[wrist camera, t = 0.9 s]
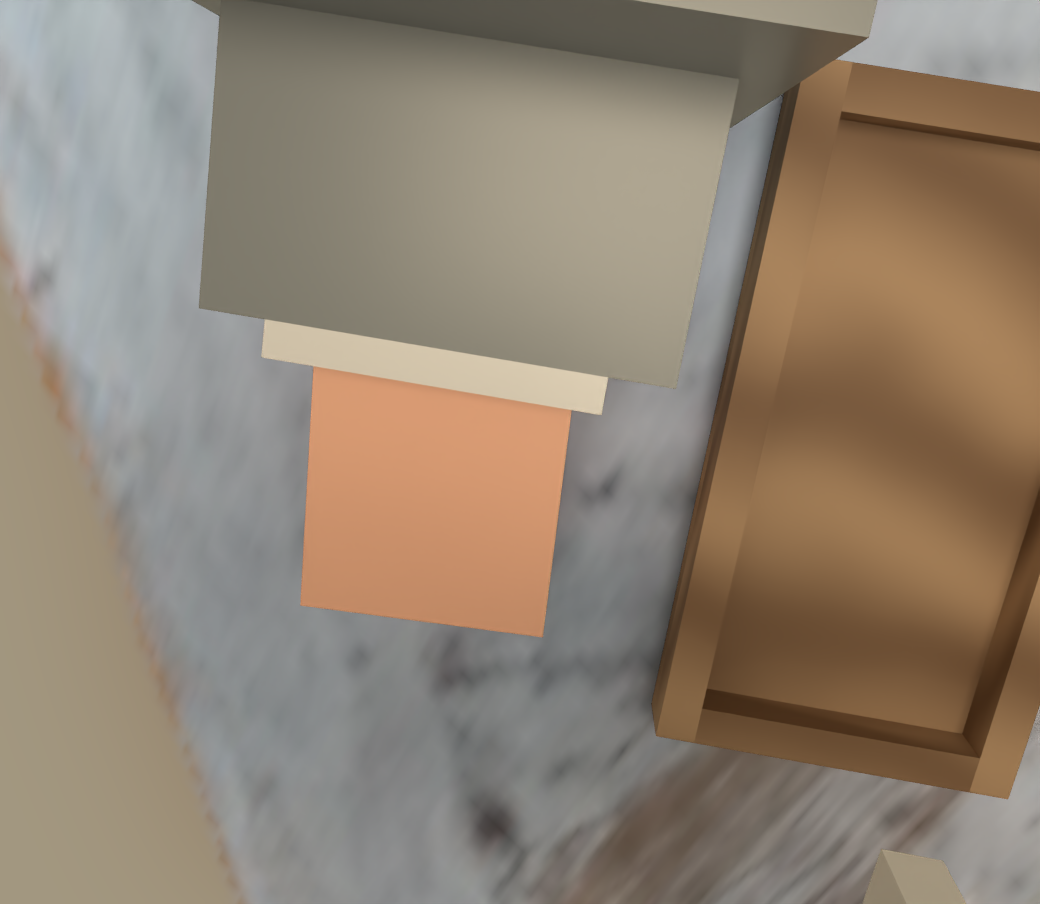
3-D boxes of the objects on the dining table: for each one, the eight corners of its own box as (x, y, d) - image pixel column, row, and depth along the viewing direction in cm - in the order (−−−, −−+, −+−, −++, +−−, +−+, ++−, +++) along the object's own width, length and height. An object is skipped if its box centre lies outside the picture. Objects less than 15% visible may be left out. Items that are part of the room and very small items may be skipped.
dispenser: (673, 367, 28) (758, 503, 14) (286, 302, 28) (11, 374, 15) (768, -99, 25) (993, -492, 11) (331, -167, 25) (31, -629, 11)
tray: (980, 762, 30) (1008, 799, 28) (651, 703, 31) (656, 735, 29) (1185, 130, 25) (1235, 123, 23) (789, 68, 26) (806, 54, 24)
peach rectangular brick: (552, 536, 30) (542, 637, 22) (369, 512, 30) (300, 605, 23) (601, 146, 27) (608, 118, 19) (397, 124, 27) (328, 87, 20)
